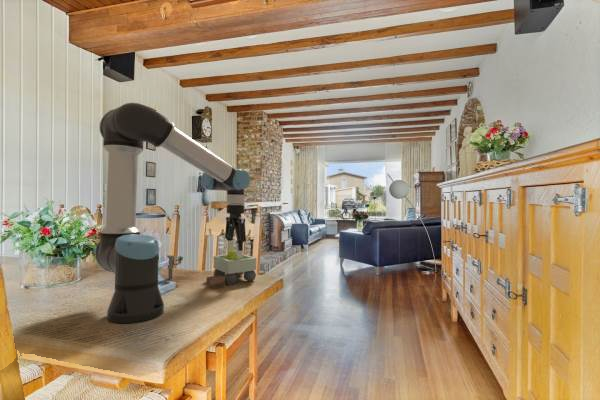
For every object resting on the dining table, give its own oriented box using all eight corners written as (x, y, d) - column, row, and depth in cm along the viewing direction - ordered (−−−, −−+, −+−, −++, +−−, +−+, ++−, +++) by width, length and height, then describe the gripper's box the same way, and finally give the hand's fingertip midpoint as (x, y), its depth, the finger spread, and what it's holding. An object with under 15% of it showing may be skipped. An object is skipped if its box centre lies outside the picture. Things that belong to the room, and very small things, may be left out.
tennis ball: (239, 264, 144) (239, 249, 145) (244, 265, 139) (244, 250, 139) (224, 265, 141) (224, 250, 142) (229, 267, 135) (228, 251, 136)
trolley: (256, 281, 138) (257, 258, 138) (227, 285, 130) (227, 261, 130) (240, 274, 150) (241, 253, 150) (212, 278, 142) (212, 256, 142)
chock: (224, 286, 129) (225, 276, 129) (210, 289, 125) (211, 278, 125) (220, 284, 132) (220, 275, 132) (206, 287, 128) (206, 277, 128)
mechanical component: (180, 279, 139) (180, 256, 139) (157, 279, 139) (157, 256, 139) (183, 278, 142) (183, 255, 142) (160, 277, 142) (160, 255, 142)
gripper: (254, 204, 134) (254, 259, 134) (232, 204, 151) (232, 252, 150) (238, 204, 129) (237, 261, 129) (217, 204, 146) (216, 254, 146)
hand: (234, 256), depth 140 cm, fingers open, 8 cm apart
